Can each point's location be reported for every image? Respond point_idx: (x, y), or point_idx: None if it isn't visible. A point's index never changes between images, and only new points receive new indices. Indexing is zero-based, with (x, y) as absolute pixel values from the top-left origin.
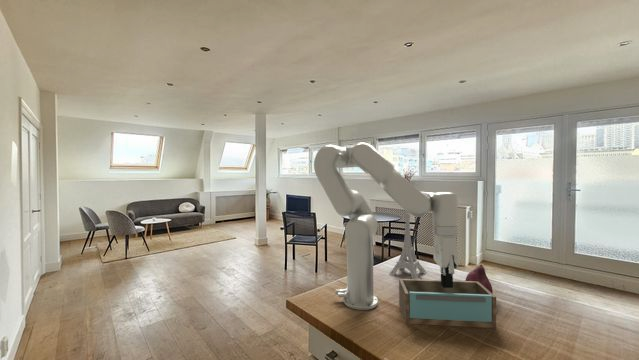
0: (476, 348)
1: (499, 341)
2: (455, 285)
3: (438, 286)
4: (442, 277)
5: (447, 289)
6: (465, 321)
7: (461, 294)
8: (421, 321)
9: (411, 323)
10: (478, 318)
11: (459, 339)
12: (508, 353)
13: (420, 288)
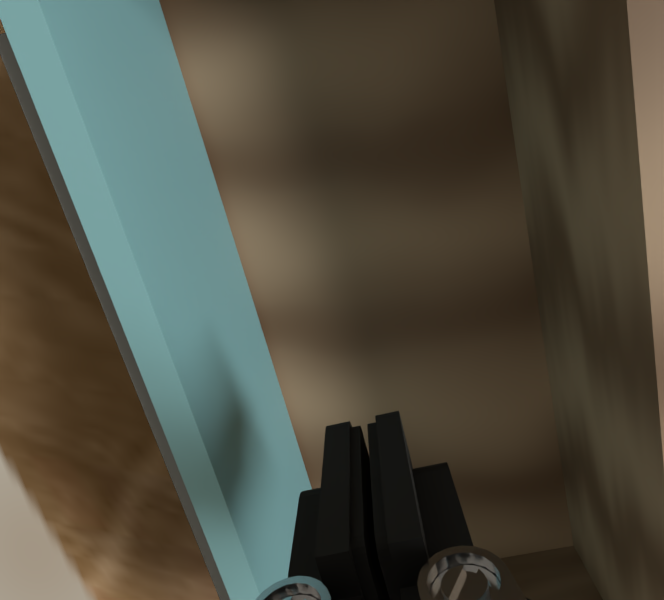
0: (50, 444)
1: (185, 562)
2: (645, 532)
3: (613, 338)
4: (318, 526)
5: (609, 420)
6: None
7: (231, 587)
8: None
9: None
10: None
11: (101, 368)
12: (85, 574)
13: (572, 92)
